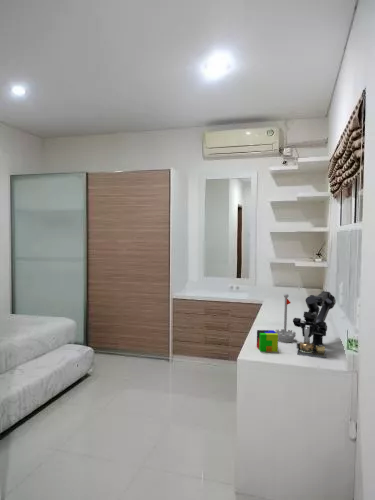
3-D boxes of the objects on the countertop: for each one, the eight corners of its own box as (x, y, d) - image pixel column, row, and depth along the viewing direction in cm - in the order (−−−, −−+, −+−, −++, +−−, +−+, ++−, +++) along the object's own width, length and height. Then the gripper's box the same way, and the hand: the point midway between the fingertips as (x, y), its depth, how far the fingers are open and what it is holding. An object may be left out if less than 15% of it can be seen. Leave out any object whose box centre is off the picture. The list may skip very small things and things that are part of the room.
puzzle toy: (273, 346, 227) (273, 330, 226) (277, 351, 217) (278, 334, 216) (256, 346, 226) (257, 330, 226) (260, 351, 216) (260, 334, 216)
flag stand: (270, 337, 246) (271, 292, 245) (287, 336, 250) (288, 291, 249) (282, 343, 234) (283, 295, 232) (299, 341, 238) (301, 294, 237)
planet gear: (299, 345, 221) (300, 325, 220) (312, 346, 219) (313, 326, 218) (300, 349, 213) (300, 328, 213) (313, 350, 211) (314, 329, 211)
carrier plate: (297, 348, 224) (297, 339, 223) (326, 352, 218) (326, 342, 217) (294, 354, 213) (295, 344, 212) (325, 358, 206) (325, 348, 206)
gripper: (294, 304, 224) (286, 326, 215) (326, 308, 213) (320, 331, 204) (298, 315, 230) (291, 336, 222) (330, 319, 219) (323, 342, 211)
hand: (306, 336), depth 215 cm, fingers closed on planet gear, 3 cm apart
